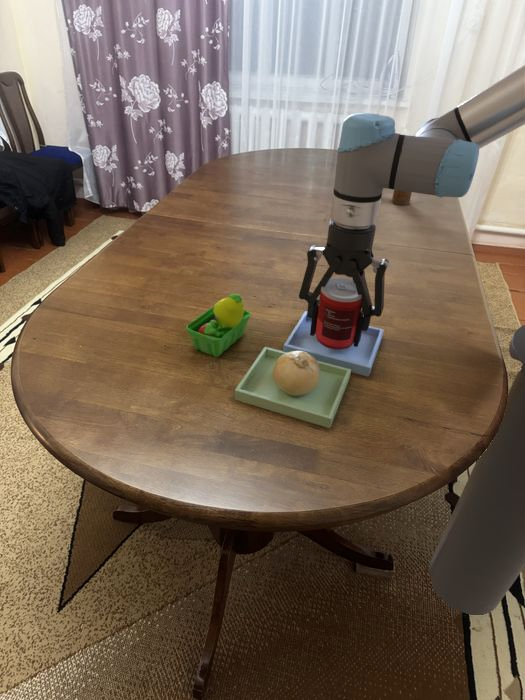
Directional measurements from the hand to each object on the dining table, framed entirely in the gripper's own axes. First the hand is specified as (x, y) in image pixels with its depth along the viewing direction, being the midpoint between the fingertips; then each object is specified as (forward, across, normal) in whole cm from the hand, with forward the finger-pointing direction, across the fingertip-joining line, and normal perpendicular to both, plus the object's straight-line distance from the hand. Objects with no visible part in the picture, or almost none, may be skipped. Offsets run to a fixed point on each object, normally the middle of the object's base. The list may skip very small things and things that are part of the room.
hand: (335, 337), depth 89 cm
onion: (+2, -3, -15) cm, 15 cm away
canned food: (0, 0, 0) cm, 0 cm away
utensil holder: (+2, -1, +91) cm, 91 cm away
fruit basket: (+2, -20, -8) cm, 22 cm away
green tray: (+2, -3, -15) cm, 15 cm away
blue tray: (+2, 0, 0) cm, 2 cm away
